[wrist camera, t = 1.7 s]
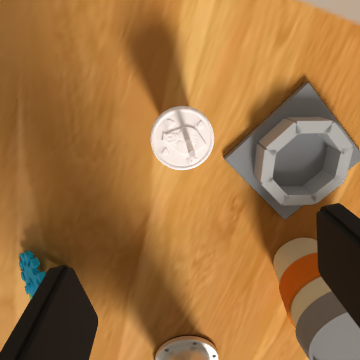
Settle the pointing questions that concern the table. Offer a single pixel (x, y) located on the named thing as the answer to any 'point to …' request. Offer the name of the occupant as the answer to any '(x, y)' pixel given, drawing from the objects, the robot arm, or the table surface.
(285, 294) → the reusable coffee cup
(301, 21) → the table surface
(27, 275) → the gear
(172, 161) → the smoothie
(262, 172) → the bottle socket
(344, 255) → the robot arm
